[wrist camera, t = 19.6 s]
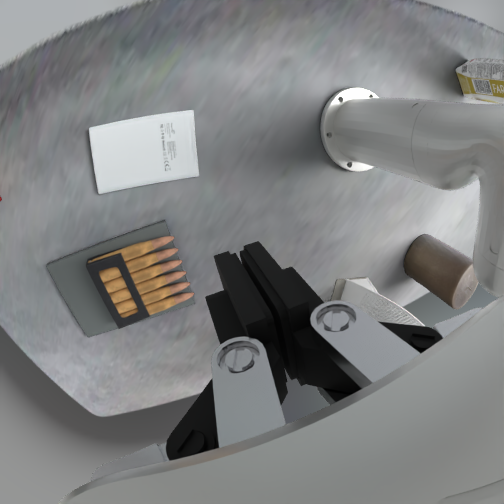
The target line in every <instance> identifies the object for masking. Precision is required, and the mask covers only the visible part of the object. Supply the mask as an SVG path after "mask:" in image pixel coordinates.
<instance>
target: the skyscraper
mask: <svg viewBox="0 0 504 504" xmlns="http://www.w3.org/2000/svg"><path fill="white" fill-rule="evenodd" d="M335 300H337V301H346V302H350V303H352V304H354V305H356V306H357V307H358V308H360V309H361V310H362V311H364V312H365V313H367V314H368V315H369V316H371V317H372V318H373V319H375V320H376V321H379V322H388V323H397V324H407V325H417V326H425V325H424V324H422V323H421V322H420V321H419V320H418V319H417V318H416V317H414V316H413V315H412V314H411V313H409V312H408V311H407V310H405V309H404V308H402V307H401V306H399V305H398V304H396V303H395V302H393V301H391V300H389V299H388V298H386V297H384V296H382V295H380V294H379V293H378V292H377V290H376V289H375V287H374V286H373V284H372V283H371V281H370V280H369V278H368V277H362V278H350V279H338V280H336V284H335V288H334V291H333V295H332V299H331V301H335ZM425 327H426V326H425Z"/></svg>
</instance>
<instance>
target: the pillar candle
mask: <svg viewBox="0 0 504 504" xmlns="http://www.w3.org/2000/svg"><path fill="white" fill-rule="evenodd" d="M404 270H405V273H406V274H407V275H408V276H410V277H412V278H413V279H414V280H415V281H416V282H418V283H420V284H421V285H423V286H424V287H425V288H427V289H428V290H429V291H430V292H432V293H433V294H435V295H436V296H437V297H439V298H440V299H441V300H443V301H444V302H445V303H447V304H448V305H449V306H451V307H452V308H454V309H459V308H461V307H462V306H464V305H465V304H466V303H467V301H468V300H469V299H470V297H471V296H472V294H473V293H474V291H475V289H476V287H477V285H478V280H477V278H476V276H475V274H474V269H473V259H471V258H469V257H468V256H466V255H464V254H462V253H461V252H459V251H457V250H456V249H454V248H452V247H451V246H449V245H447V244H445V243H443V242H441V241H440V240H438V239H436V238H434V237H432V236H431V235H428V234H424V235H421V236H419V237H418V238H417V239H416V240H415V241H414V242H413V243H412V245H411V246H410V248H409V250H408V252H407V255H406V257H405V261H404Z"/></svg>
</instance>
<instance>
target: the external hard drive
mask: <svg viewBox="0 0 504 504" xmlns="http://www.w3.org/2000/svg"><path fill="white" fill-rule="evenodd" d="M89 135H90V143H91V151H92V158H93V164H94V171H95V177H96V183H97V188H98V193H99V194H103V193H108V192H112V191H117V190H122V189H127V188H132V187H138V186H143V185H148V184H154V183H160V182H166V181H172V180H178V179H184V178H191V177H198V176H199V169H198V159H197V149H196V137H195V125H194V112H193V110H187V111H179V112H171V113H164V114H157V115H150V116H144V117H139V118H133V119H128V120H122V121H117V122H113V123H108V124H104V125H99V126H95V127H91V128H89Z"/></svg>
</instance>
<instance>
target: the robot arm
mask: <svg viewBox="0 0 504 504" xmlns="http://www.w3.org/2000/svg"><path fill="white" fill-rule="evenodd" d="M320 130H321V138H322V142H323V145H324V148H325V150H326V152H327V154H328V155H329V156H330V158H331V159H332V160H333V161H334V162H335V163H336V164H337V165H339V166H340V167H342V168H344V169H347V170H350V171H354V172H363V171H367V170H369V169H371V168H373V167H376V168H380V169H383V170H386V171H389V172H392V173H395V174H398V175H401V176H404V177H407V178H410V179H413V180H416V181H418V182H421V183H424V184H427V185H430V186H432V187H435V188H438V189H442V190H448V191H451V190H458V189H461V188H464V187H466V186H468V185H469V184H471V183H473V182H474V181H476V180H477V179H479V181H480V205H479V214H478V222H477V230H476V236H475V244H474V252H473V269H474V274H475V276H476V278H477V280H478V282H479V283H480V284H481V286H482V287H483V288H484V289H485V290H486V291H488V292H489V293H491V294H492V295H494V296H496V297H498V299H497V300H495V301H493V302H491V303H490V304H489V305H487V306H486V307H484V308H475V309H472V310H470V311H467V312H465V313H463V314H460V315H458V316H455V317H453V318H450V319H448V320H446V321H443V322H440V323H437V324H435V325H434V327H433V329H432V328H429V327H425V326H417V325H407V324H397V323H388V322H379V321H376V320H375V319H373V318H372V317H371V316H369V315H368V314H367V313H365V312H364V311H362V310H361V309H360V308H358V307H357V306H356V305H354V304H352V303H350V302H346V301H337V300H335V301H329V302H326V303H324V302H323V301H322V300H321V299H320V297H319V296H318V295H317V294H316V293H315V292H314V291H313V290H312V288H311V287H310V286H309V285H308V284H307V283H306V282H305V281H304V279H303V278H302V277H301V276H300V275H299V274H298V273H297V272H296V270H295V269H294V268H292V267H289V268H286V269H283V270H282V269H281V267H280V266H279V265H278V264H277V263H276V261H275V260H274V259H273V258H272V257H271V255H270V254H269V253H268V252H267V251H266V249H265V248H264V247H263V246H262V244H261V243H260V242H259V241H257V242H254V243H251V244H248V245H245V246H244V250H243V251H240V257H241V261H242V263H241V261H240V260H239V258H238V256H237V255H236V253H234V254H231V255H230V253H229V251H227V252H224V253H221V254H218V255H215V256H214V259H215V262H216V265H217V269H218V272H219V275H220V278H221V282H222V285H223V288H224V290H223V291H220V292H218V293H215V294H212V295H209V296H206V297H205V298H206V301H207V304H208V308H209V311H210V314H211V317H212V320H213V323H214V326H215V329H216V333H217V336H218V339H219V342H220V345H219V347H218V348H217V349H216V350H215V351H214V353H213V355H212V359H211V367H212V379H211V381H210V382H209V383H208V385H207V386H206V387H205V389H204V390H203V392H202V393H201V394H200V396H199V397H198V399H197V400H196V401H195V402H194V404H193V405H192V407H191V408H190V409H189V410H188V412H187V413H186V415H185V416H184V417H183V418H182V420H181V421H180V422H179V424H178V425H177V427H176V428H175V429H174V430H173V432H172V433H171V435H170V436H169V438H168V440H167V442H166V443H164V444H162V445H158V444H156V443H155V444H153V445H151V446H148V447H146V448H144V449H142V450H139V451H137V452H135V453H132V454H130V455H127V456H125V457H122V458H119V459H117V460H114V461H112V462H109V463H106V464H104V465H102V466H100V467H98V468H97V469H96V470H95V472H94V473H93V475H92V478H91V482H89V483H86V484H84V485H82V486H80V487H79V488H77V489H75V490H73V491H72V492H70V493H69V494H67V495H66V496H65V497H64V498H63V499H62V500H61V501H60V502H59V503H58V504H504V105H486V104H468V103H457V102H446V101H435V100H422V99H404V98H379V97H378V96H376V95H375V94H374V93H372V92H371V91H369V90H366V89H363V88H347V89H343V90H341V91H339V92H337V93H336V94H335V95H334V96H332V97H331V98H330V100H329V101H328V103H327V104H326V106H325V108H324V111H323V113H322V118H321V127H320ZM284 368H285V369H284ZM285 370H286V372H287V373H288V375H289V377H290V379H291V380H293V379H295V378H297V380H298V381H299V383H300V385H301V386H302V385H305V384H308V385H312V386H317V390H318V391H319V393H320V394H321V396H322V397H323V398H324V399H325V400H326V401H327V402H328V403H329V404H330V406H328V407H325V408H323V409H321V410H319V411H317V412H315V413H313V414H310V415H308V416H305V417H303V418H301V419H298V420H296V421H294V422H291V423H289V424H286V423H285V420H284V416H283V412H282V409H281V404H282V403H283V401H284V399H285V397H286V395H287V393H288V391H287V387H286V382H287V378H286V374H285Z"/></svg>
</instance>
